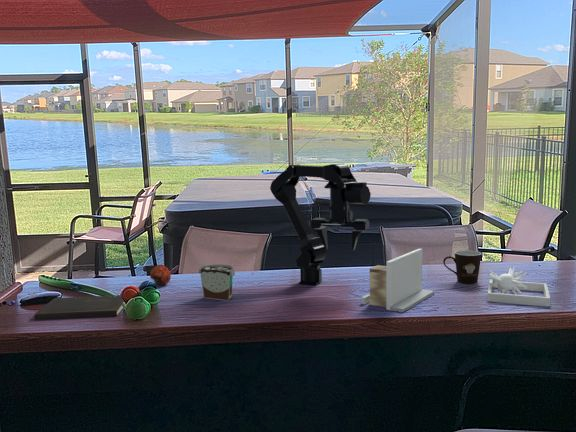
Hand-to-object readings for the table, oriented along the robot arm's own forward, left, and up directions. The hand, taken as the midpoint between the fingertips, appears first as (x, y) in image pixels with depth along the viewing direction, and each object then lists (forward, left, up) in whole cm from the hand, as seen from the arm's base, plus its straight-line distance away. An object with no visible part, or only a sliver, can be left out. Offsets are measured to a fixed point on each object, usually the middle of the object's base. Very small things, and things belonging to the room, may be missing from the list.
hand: (339, 249), depth 172 cm
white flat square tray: (+54, +8, -13) cm, 56 cm away
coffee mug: (+37, +21, -13) cm, 45 cm away
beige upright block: (+17, -13, -13) cm, 25 cm away
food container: (-33, -21, -13) cm, 41 cm away
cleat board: (+20, -6, -13) cm, 25 cm away
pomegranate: (-61, -15, -13) cm, 64 cm away
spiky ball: (+51, +11, -13) cm, 54 cm away
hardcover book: (-66, -46, -14) cm, 81 cm away
